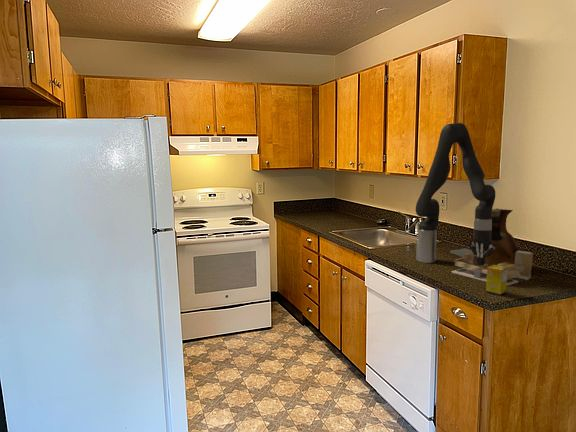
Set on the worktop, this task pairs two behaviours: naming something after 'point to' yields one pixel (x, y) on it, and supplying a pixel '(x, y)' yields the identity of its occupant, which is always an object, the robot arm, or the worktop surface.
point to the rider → (470, 259)
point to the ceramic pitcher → (501, 240)
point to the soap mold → (461, 251)
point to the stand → (478, 275)
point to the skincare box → (523, 264)
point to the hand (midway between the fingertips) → (481, 264)
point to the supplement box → (496, 280)
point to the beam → (484, 267)
